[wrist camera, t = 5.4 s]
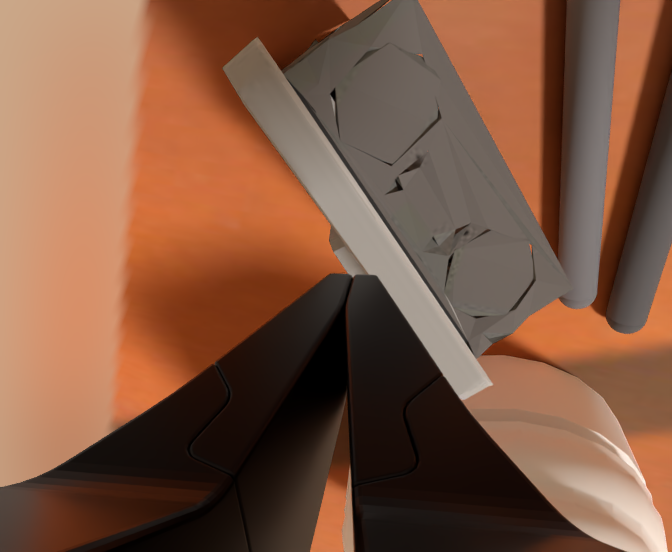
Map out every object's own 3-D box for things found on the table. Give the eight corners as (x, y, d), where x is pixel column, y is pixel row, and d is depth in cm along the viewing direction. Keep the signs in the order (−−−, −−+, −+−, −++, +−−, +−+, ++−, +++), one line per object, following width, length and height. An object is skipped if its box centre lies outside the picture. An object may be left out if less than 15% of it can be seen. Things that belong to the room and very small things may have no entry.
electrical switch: (244, 65, 18) (144, 121, 10) (373, -34, 16) (386, -71, 8) (389, 270, 21) (407, 442, 13) (506, 204, 20) (611, 350, 11)
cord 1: (626, -213, 13) (647, -231, 12) (589, 294, 21) (600, 314, 20) (567, -199, 14) (582, -214, 12) (552, 297, 21) (560, 317, 20)
